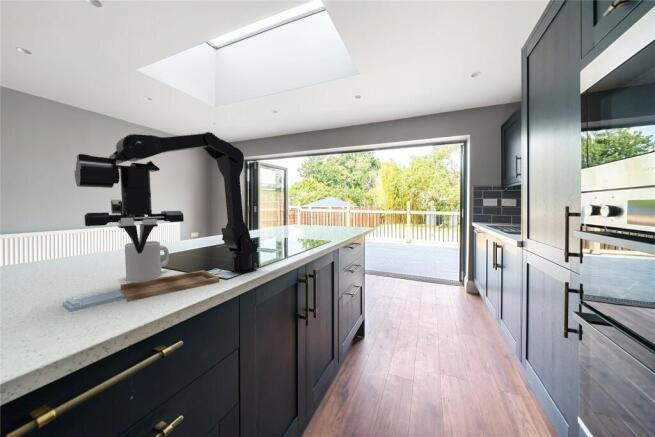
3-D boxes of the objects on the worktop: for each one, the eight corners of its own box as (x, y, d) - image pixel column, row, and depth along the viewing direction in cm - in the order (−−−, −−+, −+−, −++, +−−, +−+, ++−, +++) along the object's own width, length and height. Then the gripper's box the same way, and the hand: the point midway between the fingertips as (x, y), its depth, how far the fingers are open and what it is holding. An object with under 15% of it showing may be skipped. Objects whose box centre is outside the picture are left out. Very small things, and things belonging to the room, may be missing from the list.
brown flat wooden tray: (203, 276, 79) (203, 270, 79) (219, 284, 71) (219, 277, 71) (120, 292, 65) (120, 284, 65) (127, 305, 57) (127, 296, 57)
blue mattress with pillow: (115, 298, 62) (114, 287, 62) (125, 303, 59) (124, 292, 59) (63, 311, 55) (62, 299, 55) (70, 317, 51) (70, 305, 51)
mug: (139, 285, 71) (137, 245, 70) (119, 282, 74) (117, 244, 73) (178, 274, 82) (177, 240, 81) (159, 272, 85) (158, 239, 84)
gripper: (171, 191, 74) (173, 245, 75) (81, 189, 61) (86, 254, 62) (183, 189, 66) (185, 249, 67) (83, 186, 53) (87, 261, 54)
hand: (139, 253), depth 63 cm, fingers closed
